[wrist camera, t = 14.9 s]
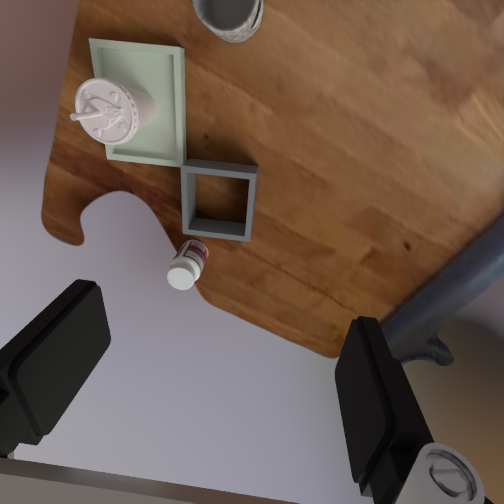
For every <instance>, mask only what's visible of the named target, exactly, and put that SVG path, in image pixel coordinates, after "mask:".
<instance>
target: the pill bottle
mask: <svg viewBox="0 0 504 504" xmlns="http://www.w3.org/2000/svg"><path fill="white" fill-rule="evenodd" d="M207 258H208V249H207V247H206V246H205V245H204V244H203V243H202V242H200V241H198V240H188V241H186V242H185V243H184V244H183V245H182V247H181V248H180V250H179V251H178V253H177V254H176V256H175V258H174V259H173V261H172V262H171V265H170V270H169V272H168V274H167V279H168V282H169V283H170V285H171V286H173V287H174V288H176V289H179V290H186V289H189V288H190V287H191V286H192V285H193V284H194V282H195V281H196V280H197V279H198V278H199V276H200V274H201V272H202V269H203V267H204V265H205V262H206V260H207Z"/></svg>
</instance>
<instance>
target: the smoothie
mask: <svg viewBox="0 0 504 504" xmlns="http://www.w3.org/2000/svg"><path fill="white" fill-rule="evenodd" d="M75 109H76V113H75V114H71V115H70V118H71V119H72V120H79V121H80V123H81V125H82V126H83V128H84V129H85V130H86V132H87V133H88V134H89V135H90V136H92V137H93V138H94V139H96V140H97V141H99V142H101V143H104V144H108V145H116V144H121V143H125V142H127V141H128V140H130V139H131V138H132V137H133V136H134V134H135V132H136V131H138V130H139V129H141V128H142V127H144V126H145V125H147V124H148V123H150V122H151V121H153V120H154V119H155V117H156V114H157V106H156V103H155V101H154V99H153V98H152V97H151V96H150V95H149V94H147V93H145V92H142V91H138V90H135V89H131V88H128V87H124V86H122V85H120V84H119V83H117V82H116V81H114V80H111V79H108V78H100V77H99V78H92V79H89V80H87V81H85V82H84V83H83V84H82V85H81V86H80V87H79V89H78V91H77V93H76V97H75Z"/></svg>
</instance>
